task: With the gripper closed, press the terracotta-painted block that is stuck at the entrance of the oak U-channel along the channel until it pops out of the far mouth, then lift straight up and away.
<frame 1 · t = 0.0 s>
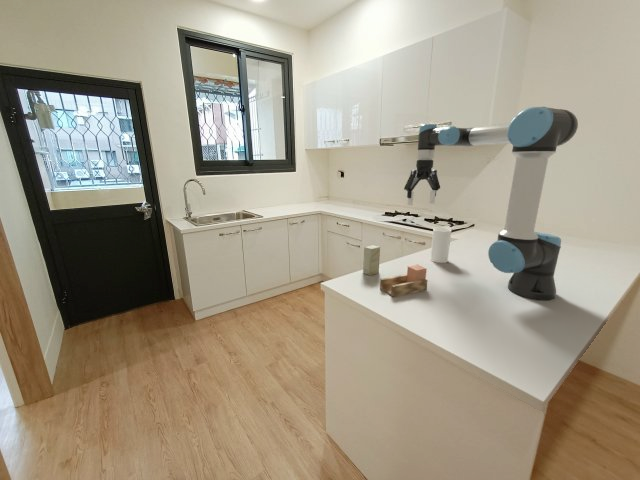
hand: (421, 204, 145), 28 cm above the countertop, fingers open, 13 cm apart
cup: (438, 260, 149), on the countertop
skincare box: (370, 273, 133), on the countertop
block: (416, 276, 117), point 4 cm above the countertop, slide at 0.0 cm
chute: (403, 289, 116), on the countertop
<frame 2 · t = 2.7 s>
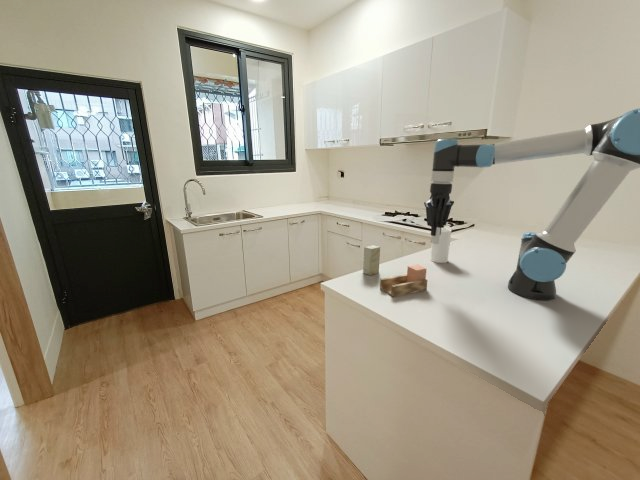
hand: (434, 243, 117), 17 cm above the countertop, fingers closed
nothing on the countertop moved.
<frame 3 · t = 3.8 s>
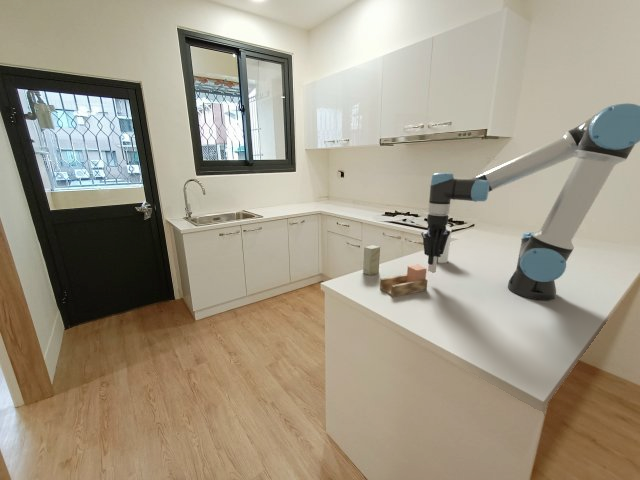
hand: (431, 271, 120), 5 cm above the countertop, fingers closed
nothing on the countertop moved.
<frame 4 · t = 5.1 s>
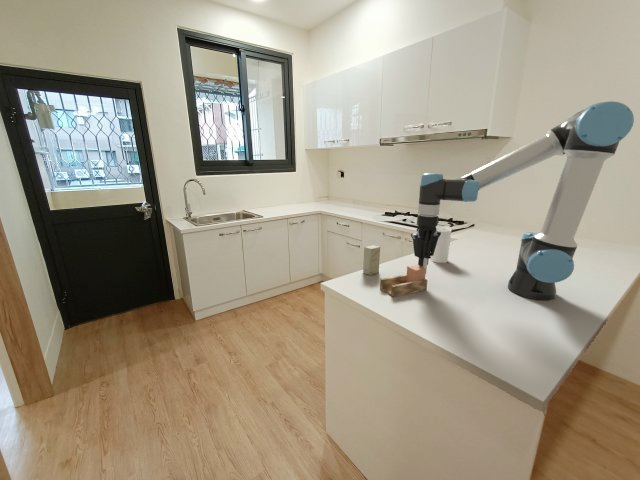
hand: (422, 273, 118), 5 cm above the countertop, fingers closed
block: (415, 276, 117), point 4 cm above the countertop, slide at 0.3 cm, touching gripper
everything else where it was.
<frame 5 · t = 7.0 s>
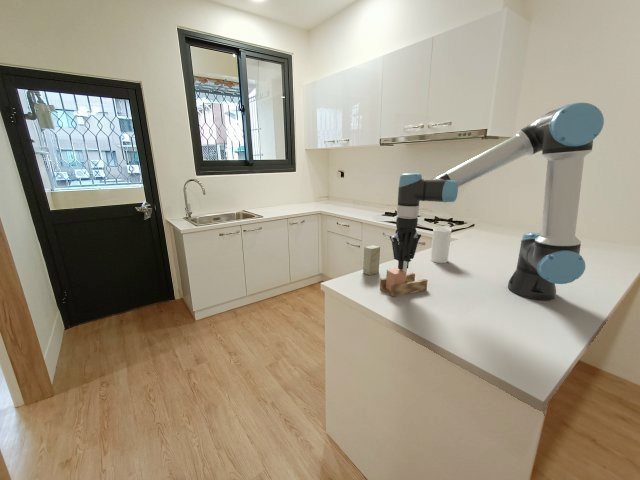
hand: (402, 276, 114), 5 cm above the countertop, fingers closed
block: (395, 280, 113), point 4 cm above the countertop, slide at 10.0 cm, touching gripper
everything else where it was.
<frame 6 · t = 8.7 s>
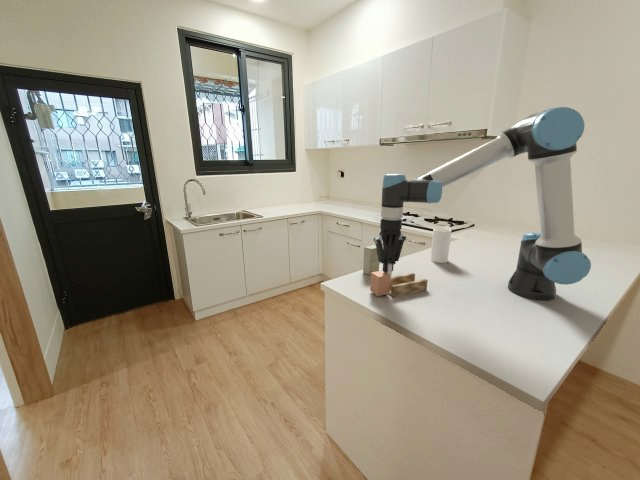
hand: (387, 279, 111), 5 cm above the countertop, fingers closed
block: (380, 283, 110), point 4 cm above the countertop, slide at 17.0 cm, touching gripper
everything else where it was.
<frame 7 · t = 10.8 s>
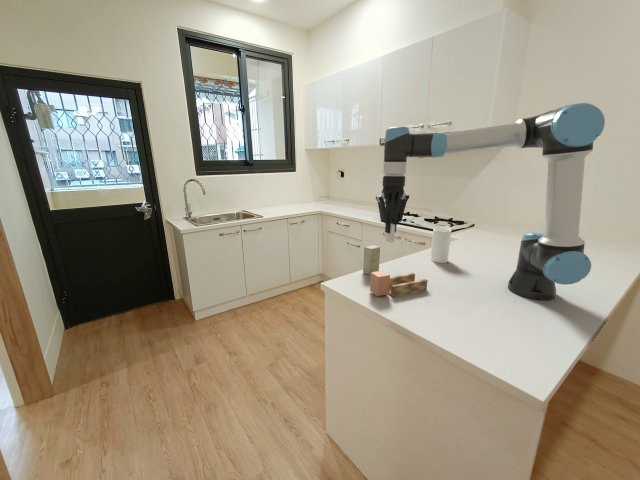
hand: (389, 241, 107), 20 cm above the countertop, fingers closed
block: (379, 283, 110), point 4 cm above the countertop, slide at 17.2 cm
everything else where it was.
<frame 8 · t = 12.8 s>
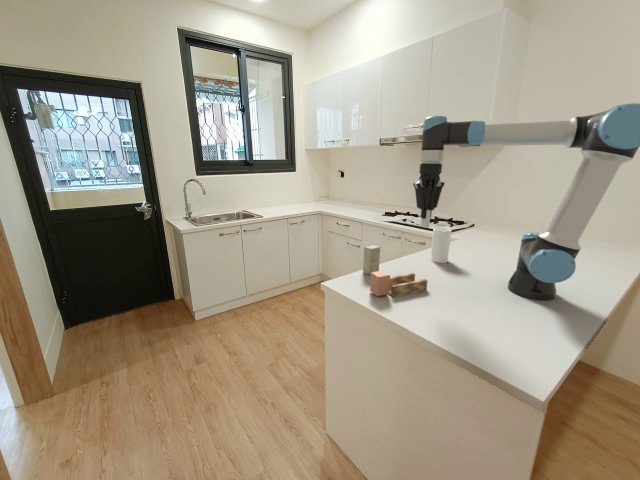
hand: (425, 226, 112), 24 cm above the countertop, fingers closed
nothing on the countertop moved.
at the end: block slide at 17.2 cm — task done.
